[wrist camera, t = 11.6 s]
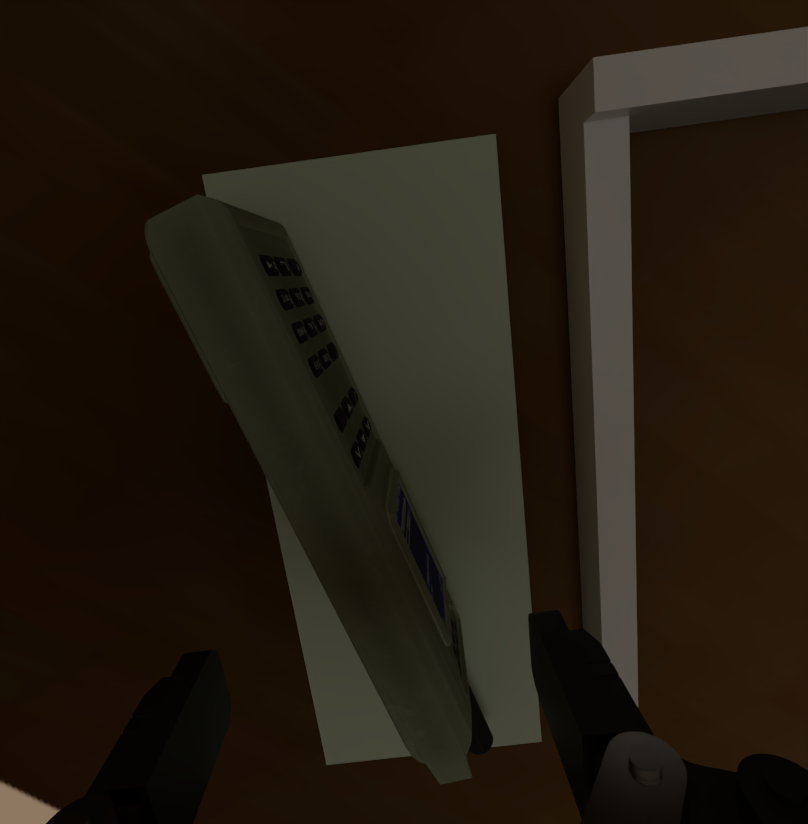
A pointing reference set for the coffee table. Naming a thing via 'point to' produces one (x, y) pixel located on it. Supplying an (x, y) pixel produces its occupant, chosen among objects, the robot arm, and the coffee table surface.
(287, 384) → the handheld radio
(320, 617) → the green mat
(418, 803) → the coffee table surface
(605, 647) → the white u-shaped frame
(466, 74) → the coffee table surface
